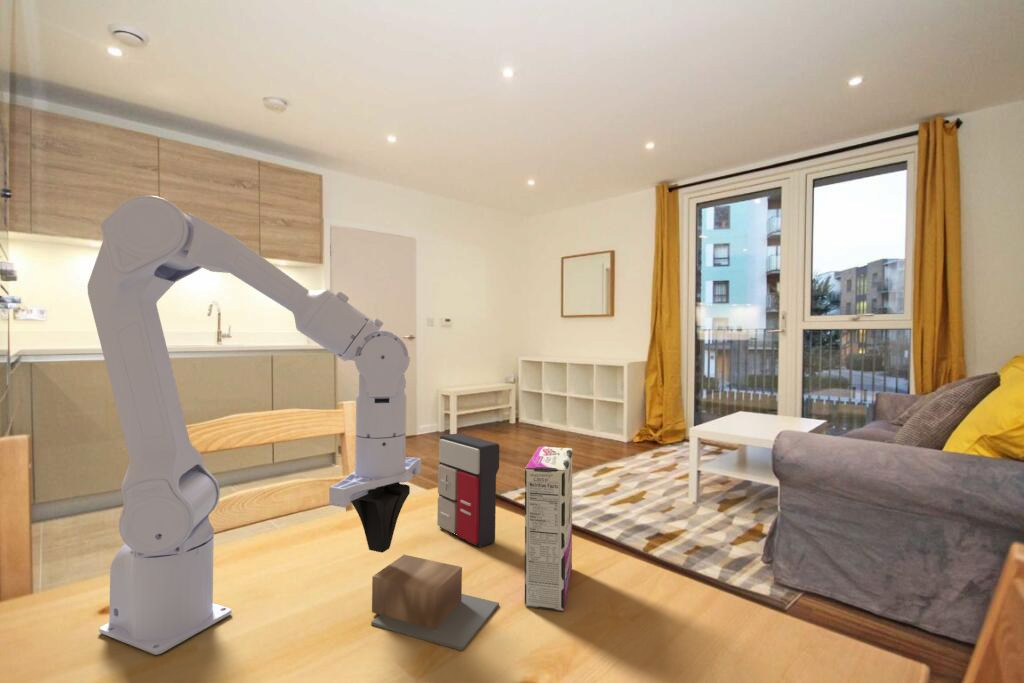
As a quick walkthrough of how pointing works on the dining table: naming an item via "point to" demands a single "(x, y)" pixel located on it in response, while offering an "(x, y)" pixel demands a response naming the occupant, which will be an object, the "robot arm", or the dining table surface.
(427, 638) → the mat
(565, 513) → the candy bar box
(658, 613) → the dining table surface
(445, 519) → the calculator
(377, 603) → the walnut block
